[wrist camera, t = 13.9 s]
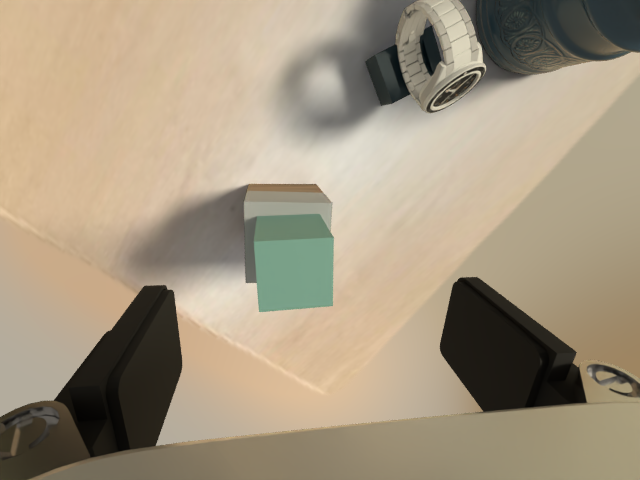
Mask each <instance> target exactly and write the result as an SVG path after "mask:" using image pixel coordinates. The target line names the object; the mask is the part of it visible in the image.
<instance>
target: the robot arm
mask: <svg viewBox="0 0 640 480" xmlns="http://www.w3.org/2000/svg"><path fill="white" fill-rule="evenodd" d="M440 351H441V354H442V356H443V357H444V358H445V360H446V361H447V363H448V364H449V365H450V367H451V368H452V369H453V371H454V372H455V373H456V374H457V376H458V377H459V379H460V380H461V382H462V383H463V384H464V385H465V387H466V388H467V390H468V391H469V392H470V394H471V395H472V397H473V398H474V399H475V401H476V402H477V403H478V405H479V406H480V407H481V409H482V410H483V412H475V413H464V414H454V415H443V416H433V417H422V418H413V419H402V420H391V421H382V422H371V423H361V424H351V425H341V426H331V427H321V428H312V429H302V430H293V431H283V432H275V433H265V434H254V435H245V436H235V437H226V438H217V439H207V440H198V441H188V442H182V443H174V444H167V445H160V446H156V443H157V440H158V437H159V435H160V432H161V429H162V426H163V423H164V420H165V417H166V414H167V412H168V409H169V406H170V403H171V400H172V397H173V394H174V391H175V389H176V385H177V383H178V380H179V377H180V373H181V370H182V355H181V347H180V338H179V331H178V322H177V314H176V306H175V298H174V292H173V290H168V289H167V287H166V286H165V285H157V286H144V287H143V288H142V290H141V291H140V292H139V294H138V295H137V296H136V298H135V299H134V300H133V302H132V303H131V304H130V306H129V307H128V308H127V310H126V311H125V313H124V314H123V315H122V316H121V318H120V319H119V320H118V322H117V323H116V324H115V326H114V327H113V328H112V330H111V331H108V332H106V334H104V336H103V337H102V338H101V339H100V341H99V342H98V343H97V345H96V346H95V347H94V349H93V350H92V351H91V353H90V354H89V355H88V356H87V358H86V359H85V361H84V362H83V363H82V364H81V366H80V367H79V368H78V369H77V371H76V372H75V373H74V375H73V376H72V378H71V379H70V380H69V381H68V383H67V384H66V385H65V386H64V388H63V389H62V390H61V392H60V393H59V394H58V396H57V397H56V398H55V400H54V401H40V402H35V403H31V404H28V405H25V406H22V407H20V408H17V409H15V410H13V411H11V412H9V413H7V414H5V415H3V416H1V417H0V480H640V379H639V378H637V377H636V376H634V375H633V374H631V373H630V372H627V371H626V370H623V369H621V368H620V367H617V366H614V365H612V364H609V363H605V362H601V361H595V360H587V361H583V362H582V363H580V365H579V367H577V366H576V365H574V364H573V360H574V358H575V355H576V351H574V350H573V349H572V348H570V347H569V346H568V345H567V344H565V343H564V342H562V341H561V340H560V339H558V338H557V337H556V336H555V335H553V334H552V333H551V332H549V331H548V330H547V329H545V328H544V327H543V326H541V325H540V324H539V323H537V322H536V321H535V320H533V319H532V318H531V317H529V316H528V315H527V314H526V313H524V312H523V311H522V310H520V309H519V308H517V307H516V306H515V305H514V304H512V303H511V302H509V301H508V300H507V299H506V298H504V297H503V296H502V295H500V294H499V293H498V292H496V291H495V290H494V289H492V288H491V287H490V286H489V285H487V284H486V283H484V282H483V281H482V280H480V279H479V278H477V277H470V278H469V277H466V278H459V279H458V281H457V282H455V283H454V284H453V287H452V292H451V296H450V301H449V306H448V311H447V315H446V319H445V324H444V329H443V334H442V338H441V342H440Z"/></svg>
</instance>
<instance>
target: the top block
mask: <svg viewBox="0 0 640 480" xmlns="http://www.w3.org/2000/svg"><path fill="white" fill-rule="evenodd" d="M299 214H320V215H321V217H322V219H323V220H324V222H325V224H326V225H327V227H328V229H329V231H330V232H331V217H332V202H331V201H330V200H329V199H328V197H327V196H326V195H325V194H324V193H317V192H277V191H247V193H246V196H245V199H244V234H245V274H246V283H257V278H256V265H255V251H254V236H255V228H256V220H257V216H275V215H299Z"/></svg>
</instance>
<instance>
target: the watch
mask: <svg viewBox="0 0 640 480" xmlns="http://www.w3.org/2000/svg"><path fill="white" fill-rule="evenodd" d="M427 18H428V20H429V21H430V23H431V24H432V25H434V29H435V31H436V34H437V36H438V37H440V38H439V41H440V44H441V48H442V50H443V56H444V62H443V61H442V60H441V57H440V53H439V50H438V46H437V43H436V39H435V36H434V32H433V29H432V26H430V27H428V28H426V29H424V28H425V24H426V21H427ZM470 20H471V19H470V17H469V15H468V13H467V11H466V10H465V9H464V6H463V5H462V4H461V2H460V1H459V0H418V1H416V2H414V3H412V4H411V5H409V6H408V7H406V8H405V9H404V11H403V13H402V15H401V18H400V21H399V24H398V28H397V33H396V41H395V45H393V46H392V47H390V48H388V49H386V50H384V51H382V52H380V53H378V54H376V55H374V56H373V57H372V58H370V59H369V60H367V61H366V62H365V63H366V65H367V68H368V71H369V73H370V76H371V79H372V82H373V84H374V87H375V90H376V92H377V95H378V98H379V101H380V103H381V105H386V104H392V103H394V102H396V101H398V100H400V99H402V98H404V97H406V96H408V95H410V94H411V95H412V97H413V98H414V100H416V102H417V103H418V104H419V105H420V107H421V109H422V110H423V111H425V112H427V113H434V112H437V111H440V110H442V109H444V108H446V107H448V106H450V105H451V104H453V103H455V102H456V101H458V100H459V99H460V98H462V97H463V96H464V95H466V94H467V93H468V92H469V91H470V90H471V89H472V88H473V87H474V86H475V85H476V84H477V83H478V82H479V81H480V80H481V78H482V77H483V75H484V74H485V71H486V65H485V64H484V63H483V59H482V46H481V45H480V43H479V42H478V43H477V38H476V35H475V30H474V27H473V24H472V22H471V21H470ZM464 35H465V36H464ZM473 35H474V36H473ZM462 36H463V37H462ZM471 36H472V37H471ZM460 37H461V38H460ZM469 37H470V38H469ZM458 38H459V39H458ZM456 39H457V40H456ZM454 40H455V41H454ZM452 41H453V42H452ZM450 42H451V43H450ZM448 48H449V49H448ZM446 49H447V50H446ZM444 50H445V51H444Z"/></svg>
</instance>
